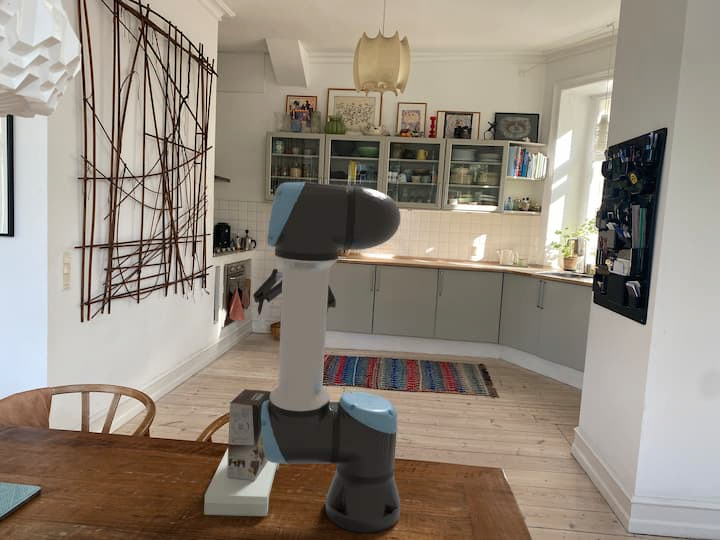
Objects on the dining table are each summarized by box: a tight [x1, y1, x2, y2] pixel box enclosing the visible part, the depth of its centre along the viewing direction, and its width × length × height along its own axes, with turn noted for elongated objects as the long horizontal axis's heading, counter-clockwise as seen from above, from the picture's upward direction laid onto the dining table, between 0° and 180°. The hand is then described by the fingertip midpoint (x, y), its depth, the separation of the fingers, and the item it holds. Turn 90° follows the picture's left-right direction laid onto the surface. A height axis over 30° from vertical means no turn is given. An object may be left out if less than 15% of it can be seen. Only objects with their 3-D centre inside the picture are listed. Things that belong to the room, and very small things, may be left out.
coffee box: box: [227, 388, 272, 481], centre depth 103 cm, size 9×6×16 cm
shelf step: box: [203, 448, 280, 517], centre depth 103 cm, size 12×20×4 cm, turn 3°
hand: (289, 327), depth 114 cm, fingers open, 13 cm apart
